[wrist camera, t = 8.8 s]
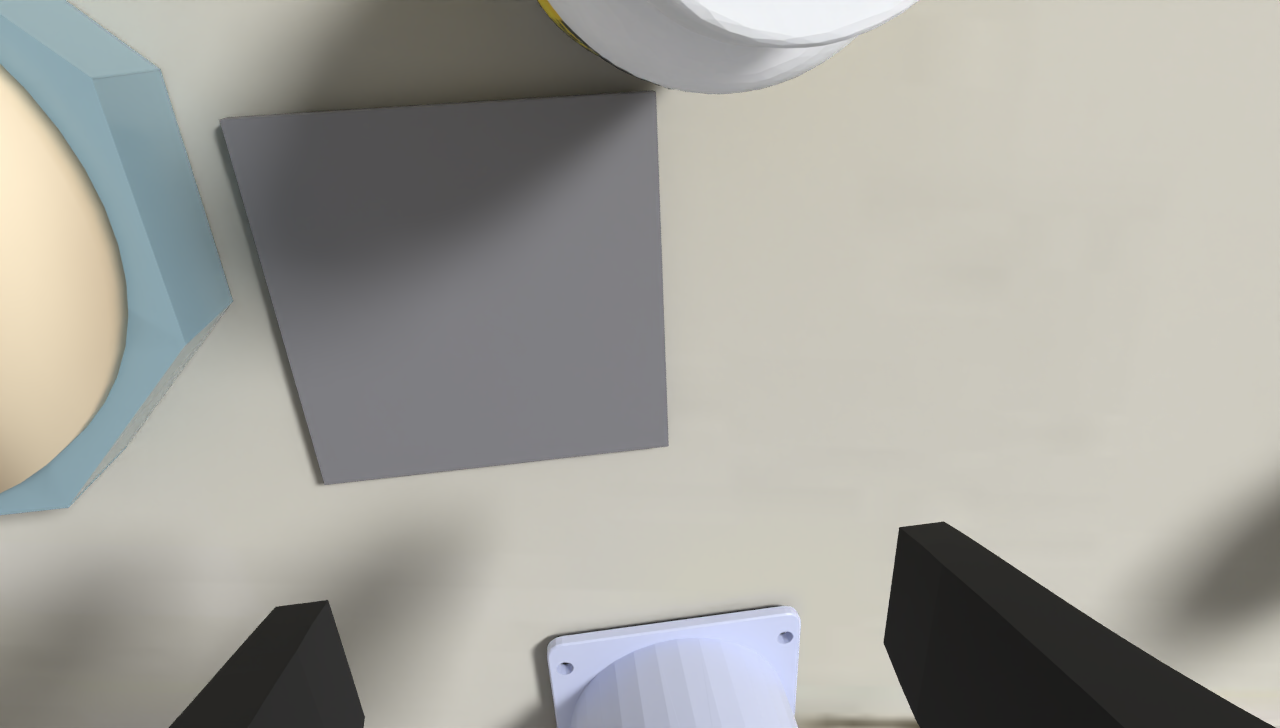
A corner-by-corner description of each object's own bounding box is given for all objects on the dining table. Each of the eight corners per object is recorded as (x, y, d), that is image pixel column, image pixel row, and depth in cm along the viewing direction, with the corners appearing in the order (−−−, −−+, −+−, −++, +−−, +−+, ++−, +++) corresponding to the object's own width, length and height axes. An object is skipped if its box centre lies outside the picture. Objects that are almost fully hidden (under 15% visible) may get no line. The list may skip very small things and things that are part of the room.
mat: (666, 438, 20) (668, 446, 19) (328, 476, 19) (324, 484, 19) (653, 90, 16) (655, 91, 16) (226, 117, 15) (219, 120, 15)
